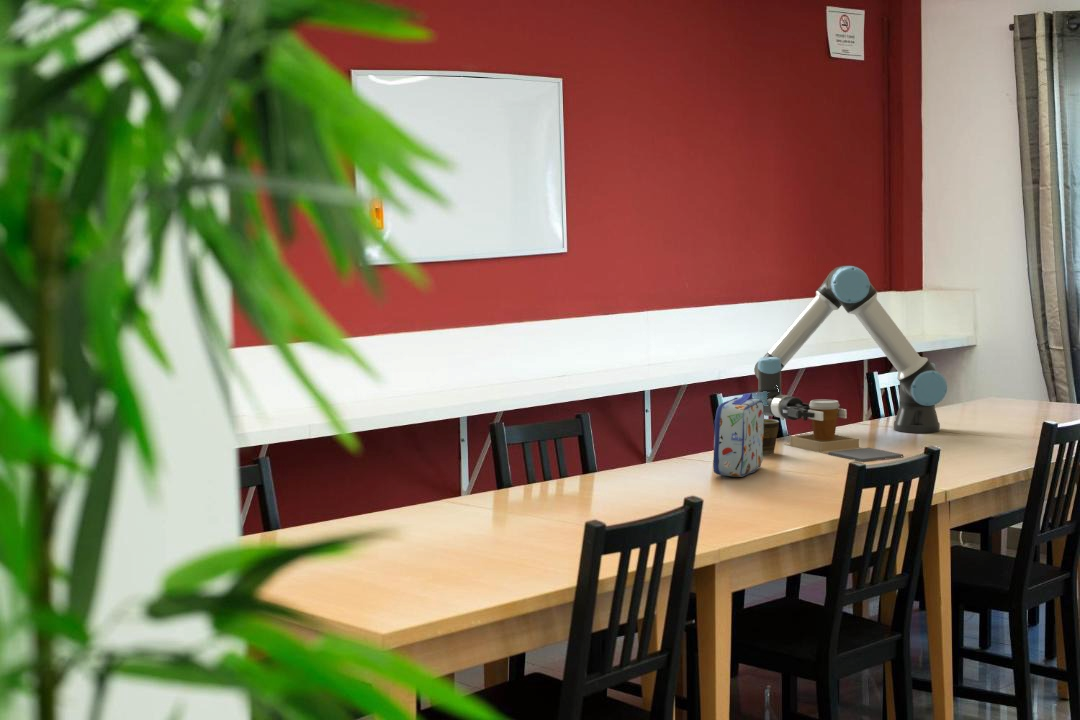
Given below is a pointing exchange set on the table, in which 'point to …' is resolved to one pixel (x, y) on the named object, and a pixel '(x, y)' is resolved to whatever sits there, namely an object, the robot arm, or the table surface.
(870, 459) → the charcoal mat
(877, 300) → the robot arm
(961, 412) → the table surface
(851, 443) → the tan shallow tray
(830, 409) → the disposable coffee cup
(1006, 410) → the table surface
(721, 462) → the lunch box
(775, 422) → the ceramic cup
